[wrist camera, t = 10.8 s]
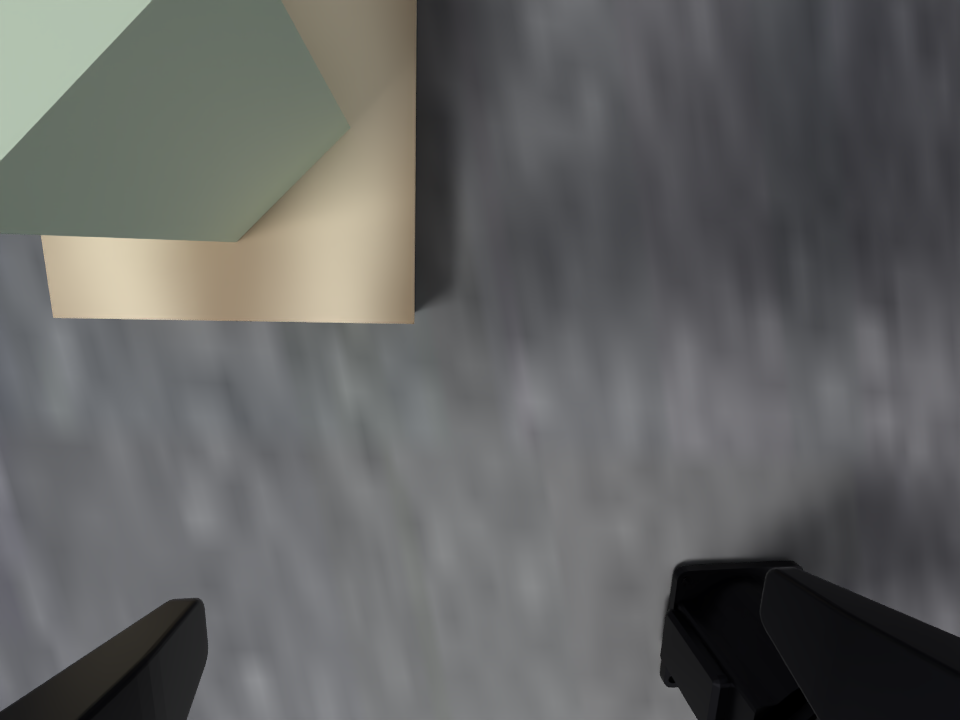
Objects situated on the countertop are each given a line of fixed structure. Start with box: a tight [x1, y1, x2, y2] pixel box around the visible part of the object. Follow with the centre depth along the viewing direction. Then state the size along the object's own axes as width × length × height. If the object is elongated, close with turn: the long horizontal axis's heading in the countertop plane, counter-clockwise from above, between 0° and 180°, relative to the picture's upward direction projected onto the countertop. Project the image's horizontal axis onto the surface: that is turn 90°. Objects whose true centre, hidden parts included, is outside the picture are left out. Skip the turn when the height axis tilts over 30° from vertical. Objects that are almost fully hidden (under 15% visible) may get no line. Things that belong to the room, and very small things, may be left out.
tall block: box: [0, 0, 350, 242], centre depth 10 cm, size 5×5×10 cm
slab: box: [41, 0, 417, 324], centre depth 16 cm, size 11×12×3 cm
